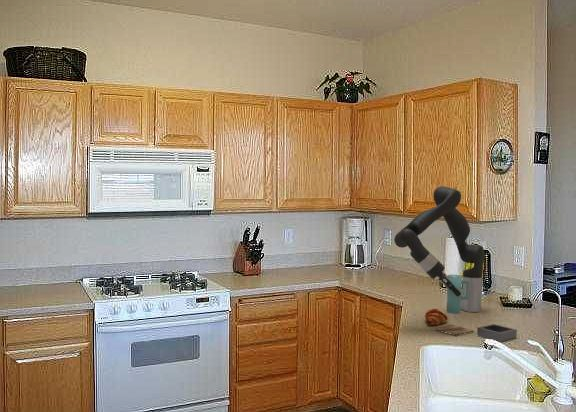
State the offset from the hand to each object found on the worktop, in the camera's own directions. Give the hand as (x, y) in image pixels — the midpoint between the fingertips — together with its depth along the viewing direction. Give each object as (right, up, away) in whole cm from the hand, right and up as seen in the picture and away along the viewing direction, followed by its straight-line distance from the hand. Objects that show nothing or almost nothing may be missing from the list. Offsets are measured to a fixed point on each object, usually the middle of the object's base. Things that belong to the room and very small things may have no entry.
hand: (458, 293), depth 245 cm
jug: (0, -8, 0) cm, 8 cm away
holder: (+14, -17, -7) cm, 23 cm away
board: (-2, -17, +1) cm, 17 cm away
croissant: (-5, -16, +17) cm, 24 cm away
